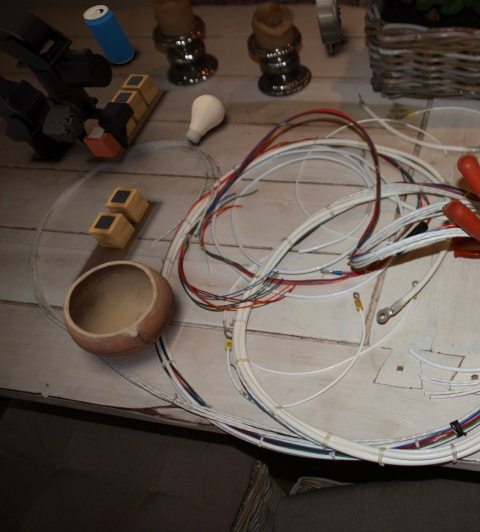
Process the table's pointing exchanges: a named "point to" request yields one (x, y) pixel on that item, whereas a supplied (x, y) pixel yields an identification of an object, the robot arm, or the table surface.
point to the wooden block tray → (118, 226)
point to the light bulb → (204, 116)
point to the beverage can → (109, 34)
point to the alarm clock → (329, 21)
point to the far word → (135, 108)
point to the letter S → (101, 142)
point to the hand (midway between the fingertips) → (108, 146)
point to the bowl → (118, 308)
